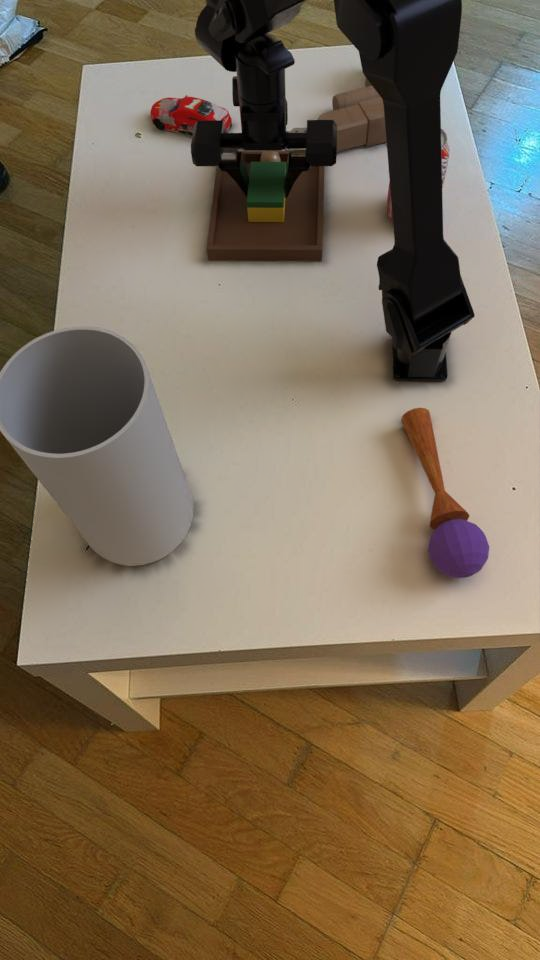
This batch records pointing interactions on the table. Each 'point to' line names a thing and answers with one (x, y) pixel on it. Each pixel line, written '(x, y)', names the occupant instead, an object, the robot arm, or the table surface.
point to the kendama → (445, 508)
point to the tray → (267, 239)
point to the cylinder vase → (98, 441)
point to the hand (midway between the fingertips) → (267, 195)
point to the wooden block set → (358, 117)
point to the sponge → (266, 192)
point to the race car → (186, 114)
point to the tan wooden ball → (270, 157)
